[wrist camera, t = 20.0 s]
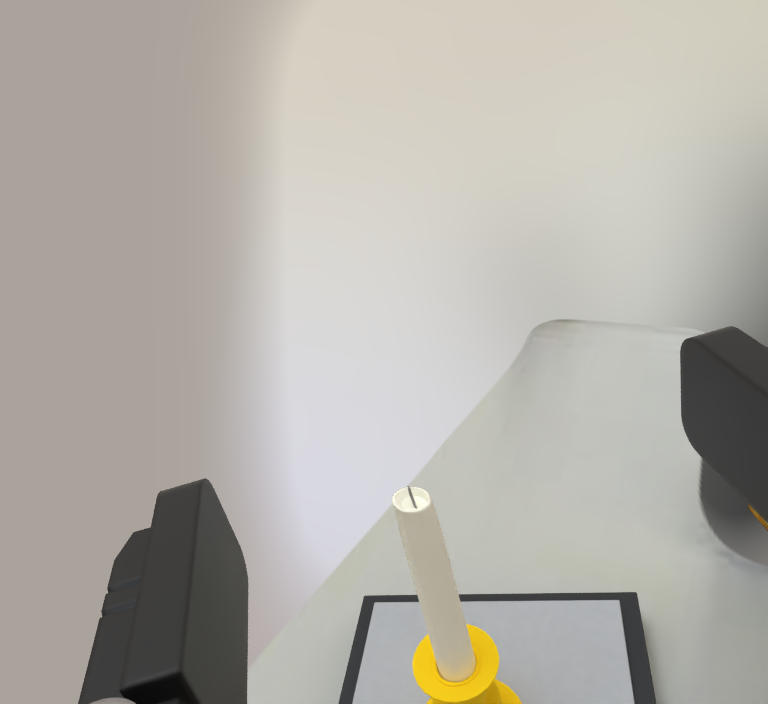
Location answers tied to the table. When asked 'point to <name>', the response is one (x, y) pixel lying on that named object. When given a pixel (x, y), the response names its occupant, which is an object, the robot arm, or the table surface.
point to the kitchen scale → (512, 648)
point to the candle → (445, 615)
